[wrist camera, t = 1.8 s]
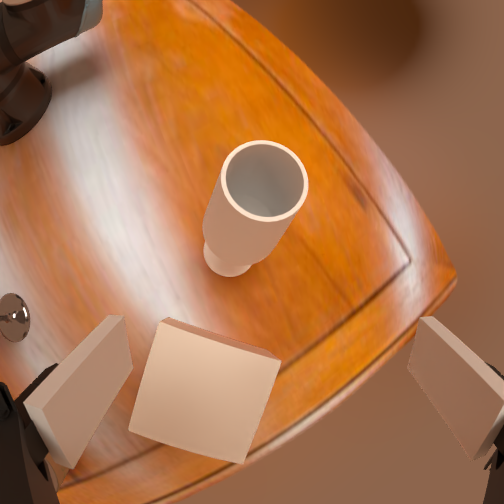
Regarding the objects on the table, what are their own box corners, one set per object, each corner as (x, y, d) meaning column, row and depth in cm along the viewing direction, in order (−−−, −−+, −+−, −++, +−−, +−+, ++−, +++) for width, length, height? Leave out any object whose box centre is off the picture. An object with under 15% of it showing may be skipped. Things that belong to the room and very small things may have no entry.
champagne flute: (257, 276, 40) (331, 240, 16) (203, 277, 38) (201, 242, 15) (254, 224, 41) (317, 129, 17) (202, 225, 39) (202, 124, 16)
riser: (141, 407, 35) (127, 430, 27) (168, 317, 37) (159, 321, 29) (235, 436, 36) (242, 464, 28) (266, 349, 38) (281, 361, 30)
